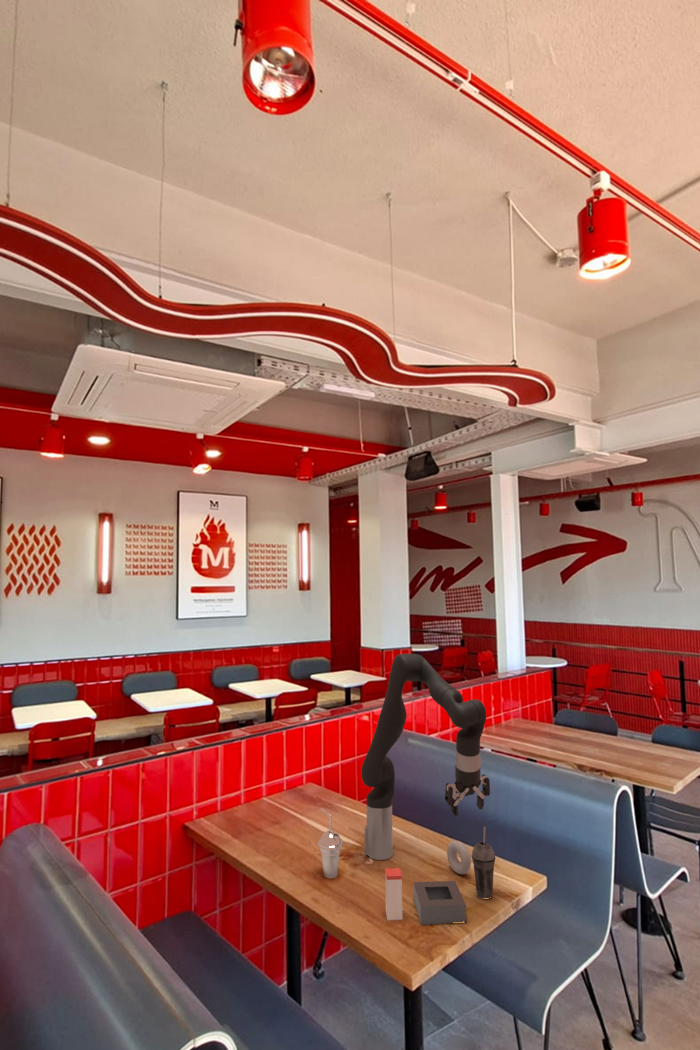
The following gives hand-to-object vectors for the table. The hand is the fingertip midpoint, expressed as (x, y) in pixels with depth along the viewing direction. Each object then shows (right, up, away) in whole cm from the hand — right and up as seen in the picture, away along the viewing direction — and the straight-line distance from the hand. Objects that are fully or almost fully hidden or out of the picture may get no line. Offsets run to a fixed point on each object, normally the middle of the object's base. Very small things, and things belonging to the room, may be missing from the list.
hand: (467, 811), depth 176 cm
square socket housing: (-10, -26, -7) cm, 29 cm away
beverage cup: (+5, -27, 0) cm, 27 cm away
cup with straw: (-43, -28, +14) cm, 53 cm away
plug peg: (-23, -26, -10) cm, 36 cm away
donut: (0, -28, +14) cm, 31 cm away
